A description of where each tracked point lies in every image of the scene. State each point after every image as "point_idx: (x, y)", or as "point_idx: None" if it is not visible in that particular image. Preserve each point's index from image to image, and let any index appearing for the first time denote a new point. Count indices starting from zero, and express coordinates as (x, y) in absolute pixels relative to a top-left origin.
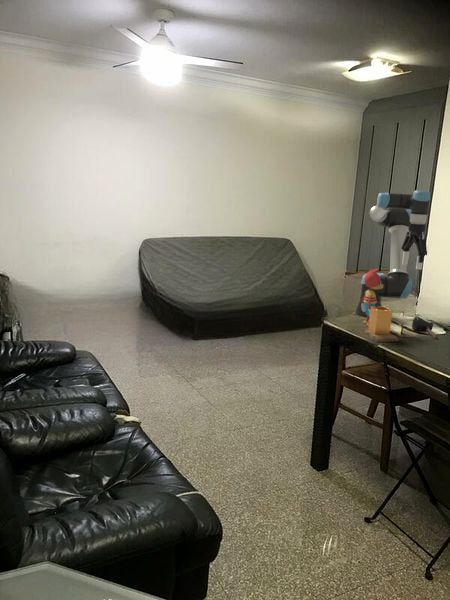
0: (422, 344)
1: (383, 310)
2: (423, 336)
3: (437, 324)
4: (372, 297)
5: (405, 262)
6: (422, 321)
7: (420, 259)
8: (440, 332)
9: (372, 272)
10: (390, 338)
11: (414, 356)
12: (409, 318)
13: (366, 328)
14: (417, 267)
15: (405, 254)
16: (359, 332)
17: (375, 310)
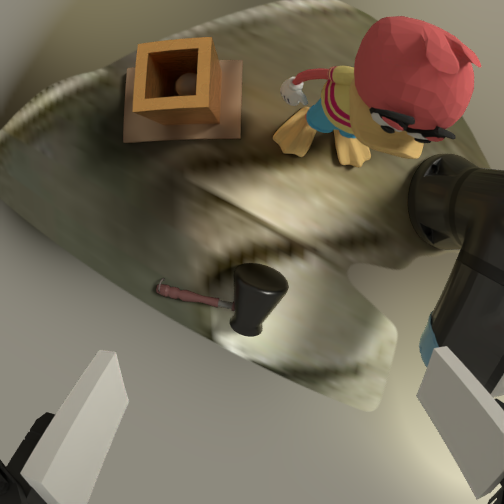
0: (106, 212)
1: (135, 68)
2: (185, 261)
3: (314, 373)
4: (334, 88)
5: (433, 387)
6: (239, 299)
7: (26, 440)
8: (231, 341)
9: (423, 35)
10: (125, 113)
11: (27, 141)
12: (386, 320)
13: (241, 72)
14: (92, 369)
15: (486, 441)
16: (229, 49)
17: (162, 43)
